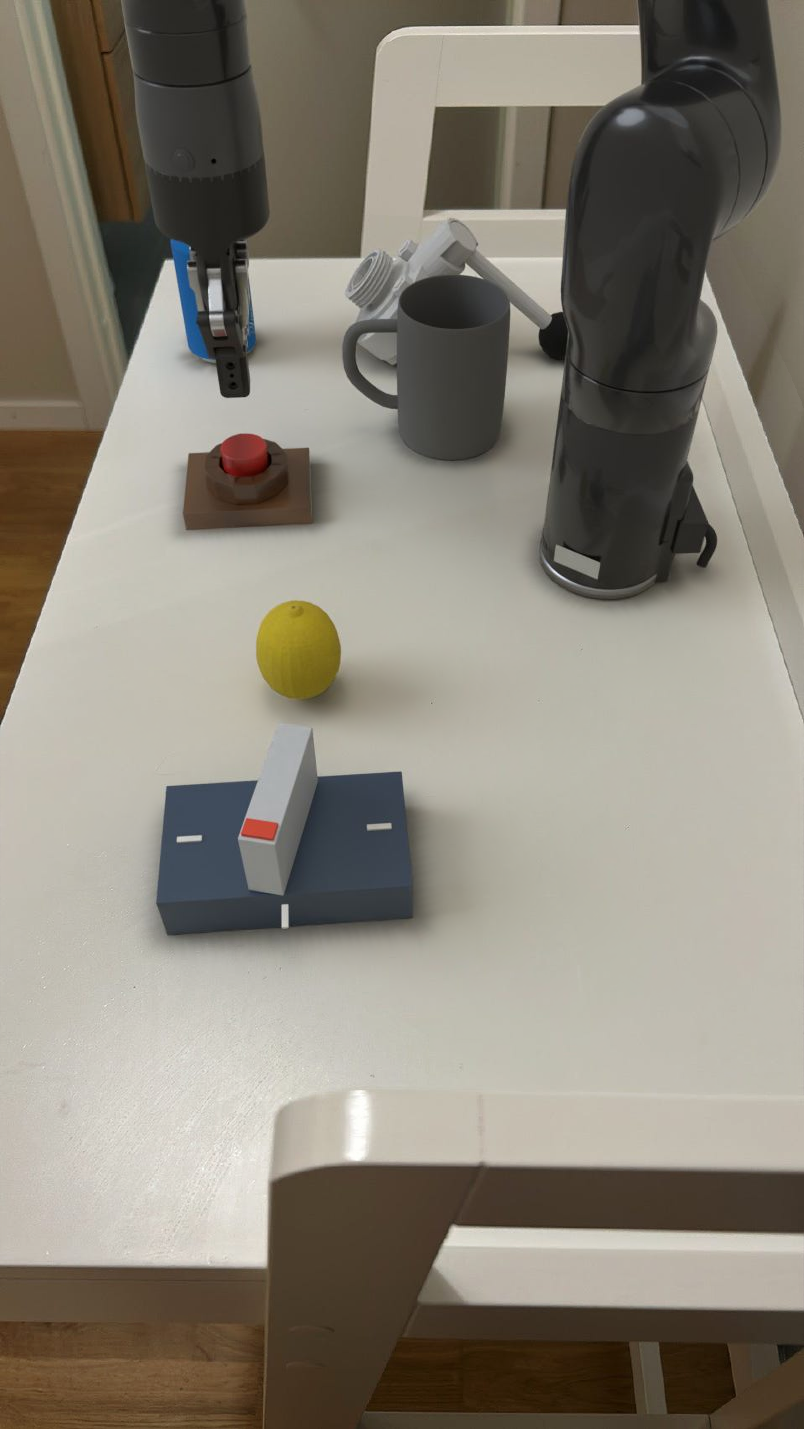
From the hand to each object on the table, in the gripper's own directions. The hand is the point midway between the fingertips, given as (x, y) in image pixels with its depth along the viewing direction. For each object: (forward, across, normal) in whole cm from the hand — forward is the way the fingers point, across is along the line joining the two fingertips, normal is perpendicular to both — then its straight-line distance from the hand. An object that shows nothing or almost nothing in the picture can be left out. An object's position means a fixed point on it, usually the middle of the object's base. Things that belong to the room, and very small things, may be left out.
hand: (236, 391), depth 79 cm
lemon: (+10, -22, -4) cm, 25 cm away
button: (+6, 0, 0) cm, 6 cm away
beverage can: (+10, +23, +3) cm, 25 cm away
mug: (+10, +8, -15) cm, 19 cm away
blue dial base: (+9, -36, -3) cm, 38 cm away
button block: (+10, 0, 0) cm, 10 cm away
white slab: (+6, -36, -3) cm, 37 cm away
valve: (+10, +21, -20) cm, 30 cm away
